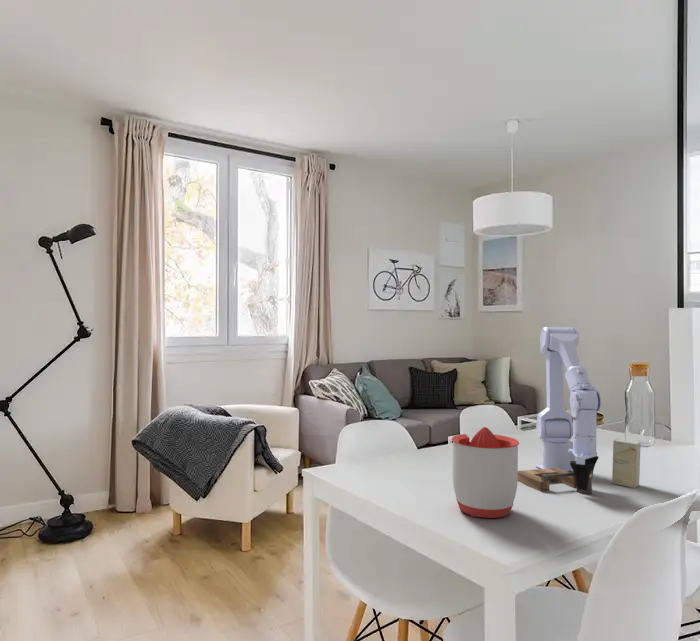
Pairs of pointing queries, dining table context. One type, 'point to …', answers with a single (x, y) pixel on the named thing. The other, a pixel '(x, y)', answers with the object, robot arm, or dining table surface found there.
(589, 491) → the grey cylinder with band
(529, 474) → the wooden bracket with rod
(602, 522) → the dining table surface
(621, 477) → the skincare box
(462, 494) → the citrus juicer
